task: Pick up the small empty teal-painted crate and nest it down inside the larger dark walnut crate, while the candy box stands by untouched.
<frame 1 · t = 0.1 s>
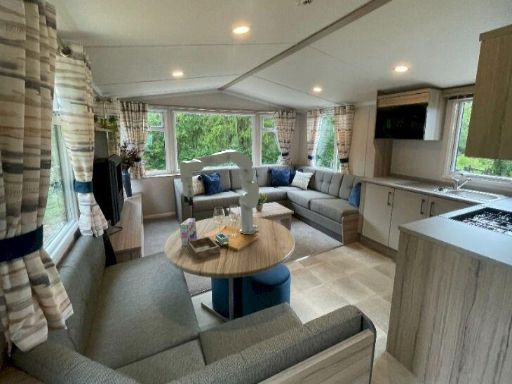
hand: (188, 203, 174), 31 cm above the table, fingers open, 9 cm apart
small crate: (222, 242, 186), on the table
big crate: (203, 250, 174), on the table
candy box: (189, 242, 188), on the table
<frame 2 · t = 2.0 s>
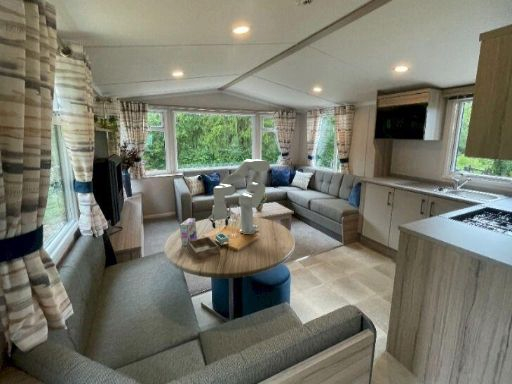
hand: (220, 226, 182), 13 cm above the table, fingers open, 9 cm apart
nothing on the table moved.
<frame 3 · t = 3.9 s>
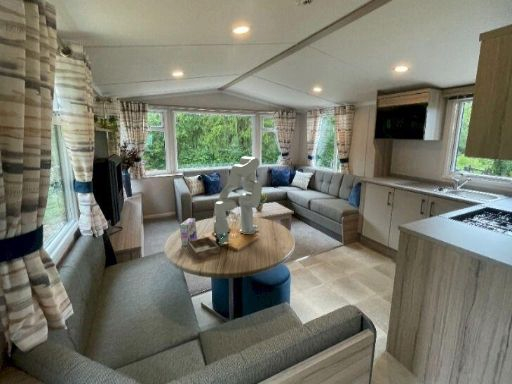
hand: (222, 241, 186), 1 cm above the table, fingers closed on small crate, 6 cm apart
small crate: (222, 242, 186), on the table, touching gripper
everything else where it was.
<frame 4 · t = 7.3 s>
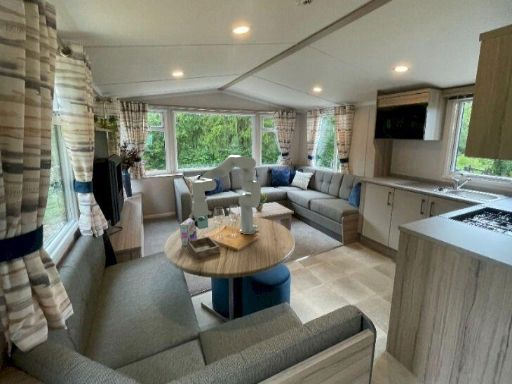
hand: (201, 225, 169), 18 cm above the table, fingers closed on small crate, 6 cm apart
small crate: (201, 226, 169), point 18 cm above the table, touching gripper
everything else where it was.
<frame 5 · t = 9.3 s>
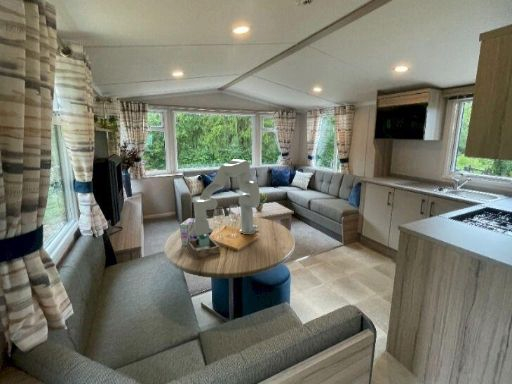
hand: (202, 243, 172), 6 cm above the table, fingers closed on small crate, 6 cm apart
small crate: (202, 243, 172), point 5 cm above the table, touching gripper
everything else where it was.
when the fingers open (3 cm above the table, at t = 10.8 s): small crate drops 2 cm, resting on big crate.
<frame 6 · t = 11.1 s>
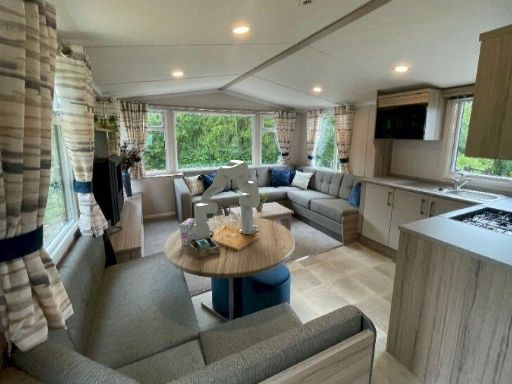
hand: (203, 245, 173), 4 cm above the table, fingers open, 8 cm apart
small crate: (203, 249, 173), point 1 cm above the table, touching big crate
everything else where it was.
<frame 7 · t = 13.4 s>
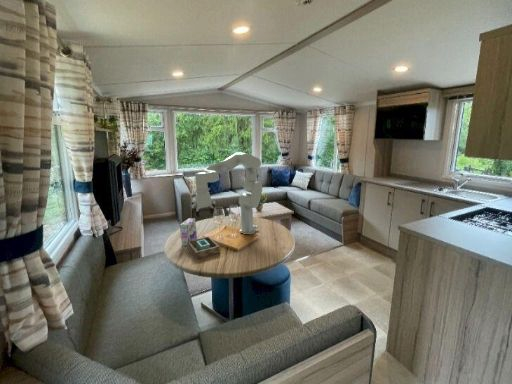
hand: (204, 214, 174), 24 cm above the table, fingers open, 9 cm apart
nothing on the table moved.
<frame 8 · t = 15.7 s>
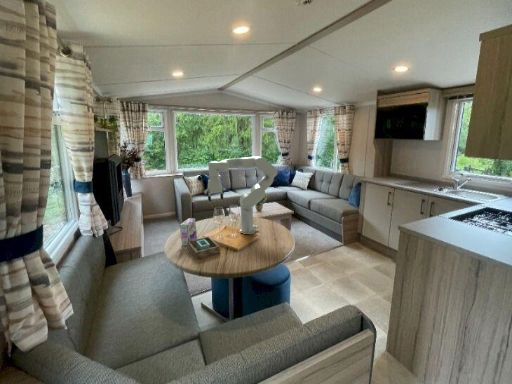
hand: (215, 200, 193), 28 cm above the table, fingers open, 9 cm apart
nothing on the table moved.
at the end: small crate inside the target area on the big crate (0.1 cm from its centre), point 0.8 cm above the big crate's base; small crate tilted 0°; the gripper is holding nothing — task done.
